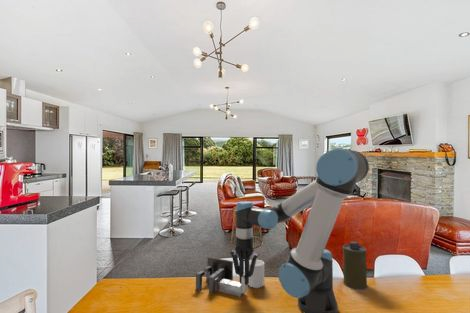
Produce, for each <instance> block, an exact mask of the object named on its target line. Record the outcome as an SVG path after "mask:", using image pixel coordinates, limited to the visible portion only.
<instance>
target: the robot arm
mask: <svg viewBox="0 0 470 313" xmlns="http://www.w3.org/2000/svg"><path fill="white" fill-rule="evenodd" d="M315 169H316V170H315V171H316V173H317V178H316V179H315V180H314V181H312V182H311V183H309V184H307V185H306V186H304V187H303V188H301V189H299V190H298V191H296V192H295V193H294V194H292V195H291V196H289V197H287V198H286V199H285V200H283V201H282V202H280V203H279V204H277V205H276V206H275V205H274V206H270V207H265V208H257V207H254V203H253V202H252V201H245V200H244V201H238V202H237V203H236V206H235V215H236V216H235V236H236V237H235V247H234V248H235V249H232V250H231V251H230V255H231V257H232V261H233V269H234V273H235V275H238V276H239V282H240V283H241V292H242V293H243V294H246V292H247V291H248V283H249V277H251V276H252V275H253V272H254V267H255V263H256V259H257V260H258V257H259V254H258V253H255V251H254V246H253V245H254V241H253V239H254V238H253V237H254V236H253V235H254V233H253V232H254V227H259V228H262V229H269V230H272V229H274V228H275V227H276V226H277V225H278V224H281V223H285V222H288V221H289V220H291V219H292V217H294V216H296V215H297V214H298V213H300V212H302V211H305V209H307V208H309V207H310V206H311V208H310V210H309V213H308V216H307V219H306V221H305V224H304V227H303V230H302V232H301V236H300V238H299V240H298V243H297V246H296V247H292V249H291V250H290V253H289V255H288V258H287V261H286V262H285V263H284V262H283V263H282V265H281V266H280V267H279V269H278V272H277V276H278V281H279V283H280V286H281V287H282V289H283V290H284V291H285V293H287V294H288V295H289V296H291V297H293V298H296V299H297V305H298V308H299V310H301V312H303V313H339V305H338V302H337V299H336V295H335V293H334V289H333V287H334V285H333V281H334V280H333V279H334V278H333V275H334V274H333V272H334V271H333V269H334V268H333V262H334V261H333V254H332V251H330V250H328V249H326V247H327V244H328V241H329V238H330V236H331V233H332V230H333V229H334V226H335V223H336V220H337V218H338V215H339V214H340V210H341V208H342V205H343V202H344V200H345V198H348V197H350V196H352V194H353V191H354V189H355V187H356V184H358V183H360V182H362V181H363V180H364V179H366V177H367V176H368V174H369V171H370V164H369V160H368V159H367V157H366V156H365V155H364V154H363V153H361V152H359V151H357V150H351V149H348V148H344V147H343V148H342V147H337V148H330V149H328V150H326V151H324V152H323V153H321V155H320V156H319V157H318V159H317V162H316V165H315ZM253 226H254V227H253ZM250 258H251V259H250ZM249 260H252V262H251V266H250V270H249Z"/></svg>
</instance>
